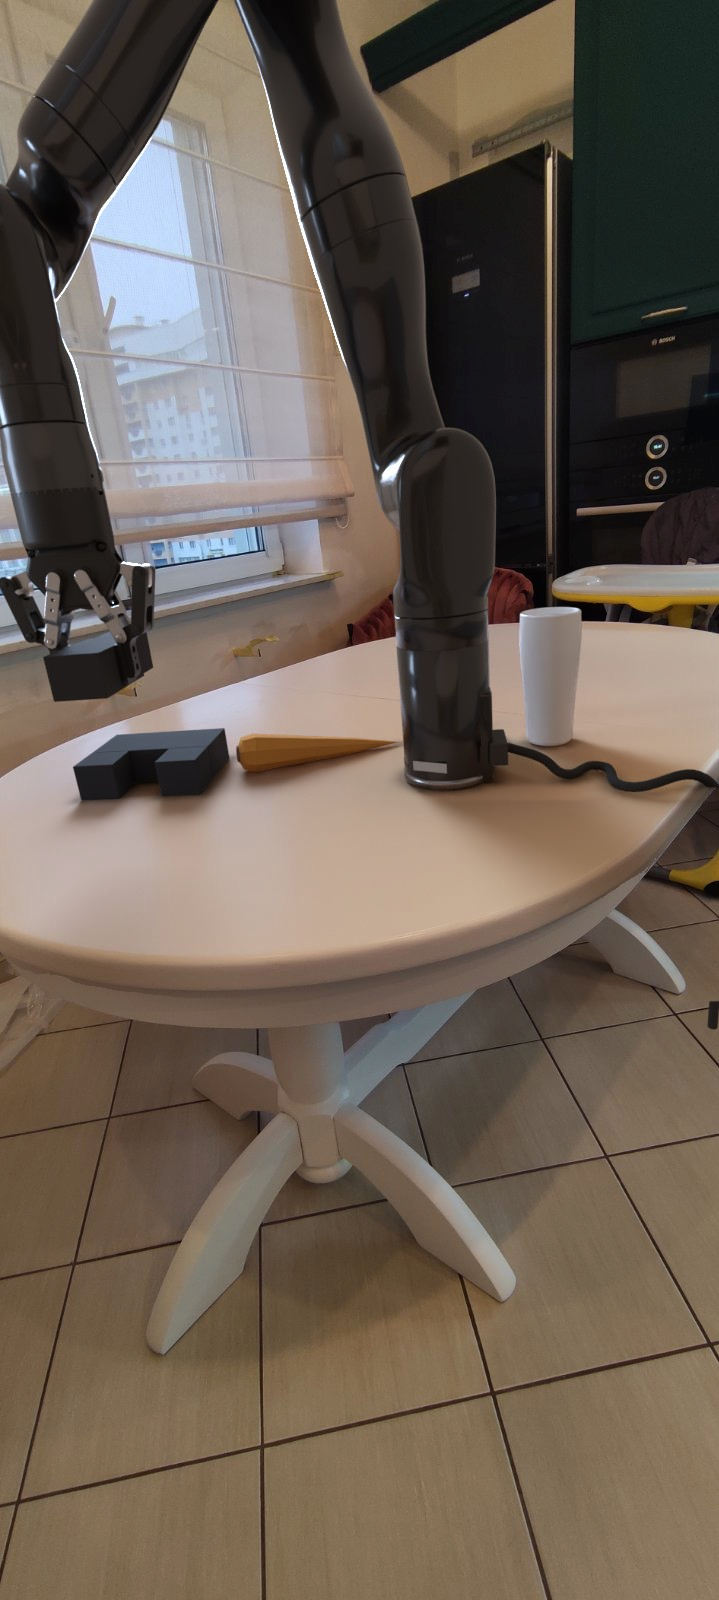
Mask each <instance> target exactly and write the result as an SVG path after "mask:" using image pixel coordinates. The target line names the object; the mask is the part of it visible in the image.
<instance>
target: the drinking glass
mask: <svg viewBox="0 0 719 1600" xmlns="http://www.w3.org/2000/svg"><path fill="white" fill-rule="evenodd" d="M518 622H519V623H518V624H519V625H518V627H519V628H518V650H519V662H520V673H521V683H522V695H523V707H524V717H525V718H524V719H525V739H526V740H527V741H528V742H529V743H530V744H533V745H535V746H540V747H555V746H556V747H557V746H562V745H565V744H568V743H569V742H570V741H571V740H572V739H573V735H574V718H575V717H574V716H575V708H576V707H575V706H576V698H577V690H578V680H579V671H580V663H581V653H582V640H583V637H582V635H583V634H582V633H583V631H582V630H583V628H582V627H583V621H582V609H580V608H578V607H572V606H552V607H551V606H550V607H549V606H548V607H547V606H546V607H536V608H530V609H527V610H523V611H521V612H520V613H519V621H518Z"/></svg>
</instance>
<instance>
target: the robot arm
mask: <svg viewBox="0 0 719 1600" xmlns="http://www.w3.org/2000/svg"><path fill="white" fill-rule="evenodd" d="M219 1H220V0H92V1H91V3H90V5H88V8H87V10H86V11H85V13H84V14H83V16H82V18H81V20H80V21H79V23H78V25H77V26H76V27H75V29H74V31H73V32H72V34H71V36H69V38H68V40H67V42H66V43H65V45H64V47H63V48H62V49H61V50H60V53H59V54H58V56H57V57H56V58H55V60H54V62H53V63H52V65H51V67H50V68H49V69H48V71H47V73H46V75H45V76H44V78H43V79H42V80H41V82H40V84H39V86H38V87H37V88H36V90H35V91H34V93H33V96H32V97H31V98H30V99H29V101H28V103H27V104H26V107H25V108H24V110H23V112H22V114H21V117H20V119H19V122H18V124H17V130H16V141H17V142H16V143H17V152H18V153H17V159H16V162H15V165H14V167H13V169H12V171H11V173H10V174H9V176H8V179H7V181H6V183H5V185H4V184H2V183H1V182H0V452H1V459H2V460H1V461H2V464H3V465H2V466H3V469H4V473H5V477H6V478H5V479H6V482H7V486H8V490H9V493H10V494H9V495H10V499H11V501H12V502H11V503H12V506H13V511H14V514H15V518H16V522H17V526H18V531H19V535H20V539H21V543H22V546H23V548H24V550H25V552H26V554H27V563H26V567H25V571H23V572H20V573H18V574H14V575H13V574H12V575H8V576H7V575H6V576H3V577H2V576H1V577H0V591H1V593H2V595H3V597H4V599H5V601H6V603H7V605H8V607H9V610H10V611H11V614H12V616H13V618H14V620H15V622H16V624H17V627H18V629H19V631H20V632H21V634H22V636H23V638H24V640H25V641H26V642H27V643H28V644H33V643H35V644H38V645H42V646H44V647H46V648H47V649H48V651H49V654H52V653H54V652H57V651H59V650H62V649H64V648H67V647H69V646H72V645H73V644H69V641H70V637H71V628H72V623H73V620H74V619H75V613H76V611H77V610H86V611H94V612H95V615H96V616H97V618H98V619H99V620H100V621H101V622H102V623H104V624H105V626H106V628H107V630H108V632H110V633H111V635H112V637H113V638H114V640H115V641H116V644H115V645H113V646H114V649H115V654H116V659H117V663H118V668H119V673H120V678H121V682H122V684H123V685H127V684H130V685H132V684H133V683H136V680H137V676H138V675H139V674H140V670H141V667H140V663H139V657H138V652H137V647H136V638H137V637H138V636H139V635H141V634H143V633H145V632H147V633H148V632H149V631H152V630H153V629H154V624H155V623H154V621H155V596H156V593H155V592H156V568H155V566H154V565H153V564H152V563H142V564H140V563H139V564H138V563H132V562H125V561H124V559H123V558H122V556H121V555H120V554H119V552H118V551H117V548H116V544H115V535H114V530H113V525H112V520H111V515H110V510H109V506H108V501H107V495H106V490H105V485H104V473H103V470H102V469H101V466H100V460H99V457H98V456H99V455H98V452H97V448H96V446H95V443H94V440H93V437H92V434H91V431H90V427H89V422H88V417H87V413H86V412H87V411H86V407H85V402H84V397H83V392H82V387H81V383H80V379H79V375H78V372H77V371H78V370H77V368H76V365H75V362H74V359H73V357H72V355H71V353H70V352H69V349H68V348H67V345H66V343H65V340H64V339H63V334H62V329H61V324H60V320H59V315H58V314H59V313H58V309H57V305H56V302H57V301H58V300H59V298H60V297H61V295H62V294H63V293H64V292H65V290H66V288H67V287H68V285H69V283H70V281H71V280H72V278H73V276H74V274H75V272H76V270H77V268H78V266H79V264H80V262H81V259H82V257H83V255H84V253H85V250H86V248H87V246H88V244H89V242H90V239H91V237H92V235H93V232H94V229H95V227H96V224H97V222H98V220H99V217H100V216H101V214H102V212H103V210H104V209H105V208H106V206H107V205H108V204H109V202H110V201H111V200H112V198H113V197H114V196H115V195H116V193H117V192H118V191H117V190H119V188H120V187H121V185H122V184H123V183H124V181H125V180H126V178H127V176H129V173H130V172H131V171H132V169H133V168H134V166H135V165H136V163H137V162H138V161H139V159H140V157H141V156H142V155H143V153H144V151H145V150H146V148H147V146H148V145H149V144H150V141H152V138H153V136H154V135H155V134H156V132H157V130H158V127H159V126H160V124H161V122H162V120H163V118H164V116H165V115H166V112H167V110H168V109H169V108H168V107H169V106H170V104H171V102H172V100H173V97H174V95H175V92H176V90H177V88H178V86H179V83H180V81H181V79H182V77H183V74H184V71H185V70H186V67H187V64H188V62H189V59H190V58H191V55H192V53H193V51H194V48H195V46H196V44H197V42H198V40H199V38H200V36H201V34H202V32H203V30H204V28H205V26H206V24H207V22H208V20H209V19H210V17H211V15H212V13H213V11H214V10H215V8H216V6H217V4H218V3H219ZM232 1H233V4H234V6H235V8H236V11H237V14H238V17H239V19H240V22H241V25H242V27H243V30H244V32H245V34H246V37H247V40H248V42H249V45H250V47H251V50H252V52H253V55H254V58H255V62H256V64H257V67H258V69H259V73H260V76H261V79H262V83H263V86H264V89H265V93H266V97H267V101H268V105H269V110H270V115H271V118H272V122H273V128H274V132H275V135H276V141H277V143H278V148H279V153H280V156H281V159H282V163H283V167H284V171H285V175H286V178H287V182H288V185H289V189H290V193H291V196H292V200H293V201H292V202H293V204H294V205H293V206H294V209H295V212H296V216H297V219H298V222H299V223H298V224H299V226H300V229H301V233H302V236H303V239H304V243H305V246H306V249H307V253H308V256H309V259H310V263H311V267H312V269H313V272H314V275H315V278H316V280H317V281H316V282H317V284H318V287H319V289H320V293H321V295H322V299H323V301H324V305H325V308H326V311H327V314H328V317H329V321H330V323H331V327H332V330H333V333H334V336H335V340H336V342H337V345H338V348H339V351H340V354H341V357H342V360H343V362H344V365H345V368H346V370H347V371H346V372H347V373H348V377H349V379H350V382H351V385H352V388H353V391H354V395H355V398H356V401H357V406H358V409H359V413H360V418H361V422H362V423H361V424H362V427H363V432H364V436H365V441H366V446H367V451H368V456H369V457H368V458H369V461H370V466H371V471H372V477H373V481H374V486H375V491H376V494H377V501H378V503H379V506H380V508H381V510H382V512H383V514H384V516H385V517H386V519H387V521H388V522H389V523H390V524H391V526H393V527H394V528H395V529H396V530H397V531H399V553H400V555H399V556H400V557H399V558H400V569H399V574H398V579H397V581H396V584H395V585H394V587H393V591H392V602H393V614H394V629H395V630H394V632H395V644H396V645H395V646H396V656H397V657H396V659H397V661H396V662H397V672H398V674H397V675H398V687H399V689H398V690H399V701H400V715H401V716H400V717H401V729H402V745H403V762H404V768H403V771H404V779H405V780H406V782H408V783H409V784H411V785H413V786H416V787H419V788H424V789H429V790H458V789H463V788H470V787H473V786H476V785H480V784H482V783H493V782H494V781H495V773H494V772H495V769H494V767H505V766H509V754H512V755H515V756H520V757H522V758H523V757H524V758H527V759H530V760H533V761H536V762H537V763H539V764H541V765H543V766H544V767H546V769H547V770H548V771H549V772H551V773H552V774H553V775H554V776H555V777H558V778H559V779H564V780H573V779H576V778H579V777H580V776H583V775H584V774H586V773H587V772H589V771H600V772H603V773H605V776H606V780H607V782H608V783H609V785H610V787H612V788H613V789H615V790H618V791H622V792H626V793H642V792H647V791H653V790H656V789H658V788H659V789H660V788H661V787H664V786H667V785H671V784H673V783H676V782H681V781H695V782H699V783H700V784H702V785H704V786H705V787H707V788H710V789H711V788H713V789H717V788H719V782H717V780H715V778H713V777H712V776H710V775H709V774H707V773H706V772H704V771H702V770H697V769H693V768H691V769H690V768H685V769H680V770H675V771H672V772H668V773H666V774H663V775H660V776H657V777H654V778H651V779H646V780H642V781H626V780H623V779H621V778H619V777H618V774H617V773H618V772H617V771H616V768H615V767H614V766H613V764H611V763H610V762H606V761H602V760H589V761H585V762H583V763H581V764H579V765H577V766H575V767H574V768H571V769H570V768H564V767H562V766H560V765H559V764H558V763H557V762H556V761H555V760H554V759H553V758H552V757H550V756H548V755H547V754H545V753H543V752H541V751H538V750H536V749H533V748H531V747H530V748H529V747H526V746H522V745H519V744H515V743H511V742H508V739H507V736H506V733H505V729H503V728H501V729H499V728H498V729H493V728H494V727H493V725H494V724H493V693H492V689H491V681H490V680H491V679H490V678H491V677H490V675H491V674H490V640H489V638H490V637H489V634H490V633H489V590H490V587H491V584H492V581H493V578H494V573H495V567H496V566H495V565H496V533H497V529H496V528H497V493H496V492H497V491H496V479H495V472H494V469H493V463H492V460H491V458H490V456H489V454H488V453H489V452H488V451H487V450H486V448H485V447H484V445H483V444H482V443H481V441H480V440H479V439H478V438H477V437H476V436H474V435H473V434H472V433H470V432H468V431H467V430H465V429H461V428H457V427H446V426H445V422H444V421H443V417H442V414H441V411H440V407H439V404H438V400H437V397H436V393H435V390H434V386H433V382H432V377H431V374H430V367H429V360H428V348H427V347H428V345H427V344H428V343H427V292H426V270H425V269H426V268H425V258H424V249H423V242H422V237H421V232H420V226H419V223H418V219H417V214H416V212H415V211H416V210H415V207H414V203H413V199H412V195H411V190H410V187H409V182H408V179H407V173H406V170H405V167H404V164H403V160H402V157H401V154H400V150H399V148H398V144H397V143H396V140H395V137H394V136H393V132H392V131H391V129H390V127H389V124H388V122H387V121H386V118H385V117H384V115H383V114H382V111H381V109H380V107H379V105H378V104H377V103H376V100H375V98H374V97H373V95H372V93H371V91H370V90H369V88H368V85H367V84H366V82H365V81H364V79H363V77H362V75H361V73H360V70H359V69H358V66H357V65H356V62H355V60H354V57H353V55H352V52H351V50H350V47H349V44H348V41H347V38H346V34H345V31H344V27H343V23H342V19H341V14H340V10H339V5H338V1H337V0H232ZM122 576H123V577H124V578H125V582H126V586H127V587H128V588H129V589H130V590H131V603H130V606H131V607H130V618H129V616H128V614H127V608H126V606H125V604H124V602H123V601H122V598H121V597H120V596H119V593H118V592H117V591H116V590H117V588H118V586H119V583H120V581H121V578H122ZM34 586H35V587H36V588H37V589H38V590H39V591H40V592H41V593H42V594H43V595H44V597H45V599H44V600H45V602H44V612H43V614H42V612H41V610H40V609H39V607H38V604H37V602H36V600H35V598H34V594H35V588H34ZM137 681H138V680H137ZM718 1024H719V1000H709V1001H708V1013H707V1025H706V1026H707V1028H708V1029H709V1030H718V1026H719V1025H718Z"/></svg>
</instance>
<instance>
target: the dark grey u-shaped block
mask: <svg viewBox="0 0 719 1600" xmlns="http://www.w3.org/2000/svg"><path fill="white" fill-rule="evenodd" d="M229 760H230V753H229V746H228V741H227V735H226V728H225V727H222V728H221V727H220V728H204V729H201V728H200V729H188V730H187V729H186V730H170V731H154V732H152V731H151V732H139V733H138V732H137V733H123V734H116V735H114V736H113V737H111V738H110V739H109V740H107V741H106V742H104V743H103V744H102V745H100V746H99V747H98V748H97V749H95V750H94V751H93V752H91V753H90V754H88V755H86V757H84V758H83V759H82V760H80V761H79V762H76V764H75V765H73V766H72V769H73V774H74V777H75V780H76V785H77V789H78V792H79V793H78V794H79V797H80V800H81V801H88V800H89V801H90V800H91V801H92V800H108V799H109V800H110V799H120V798H121V797H123V796H124V795H125V794H126V793H127V792H128V791H129V790H130V789H131V788H132V787H133V786H134V785H136V783H139V784H140V783H157V782H158V788H159V791H160V796H161V797H170V796H189V795H190V796H191V795H193V796H194V795H202V794H203V793H204V791H205V790H206V789H207V787H208V786H209V785H210V784H211V782H212V781H213V780H214V778H216V776H217V775H218V773H220V771H221V770H222V769H223V767H224V766H225V765H226V764H227V763H228V761H229Z"/></svg>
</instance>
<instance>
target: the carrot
mask: <svg viewBox="0 0 719 1600" xmlns="http://www.w3.org/2000/svg"><path fill="white" fill-rule="evenodd" d="M397 743H398V741H392V740H382V739H372V738H361V737H359V738H358V737H347V736H346V737H345V736H343V737H342V736H319V735H317V736H316V735H299V734H298V735H295V734H294V735H293V734H273V733H271V734H269V733H251V734H247V735H244V736H241V737H240V738H239V741H238V745H236V747H235V750H236V751H235V753H236V755H235V756H236V761H237V763H239V764H240V766H241V767H242V769H243V770H244V771H248V772H249V771H250V772H255V773H258V772H264V771H268V770H274V769H278V768H284V767H290V766H294V765H299V764H304V763H310V762H316V761H320V760H326V759H329V758H330V759H331V758H335V757H341V756H345V755H346V756H347V755H351V754H357V753H361V752H365V751H369V750H372V749H376V748H381V747H385V746H388V745H389V746H390V745H393V744H397Z"/></svg>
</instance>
